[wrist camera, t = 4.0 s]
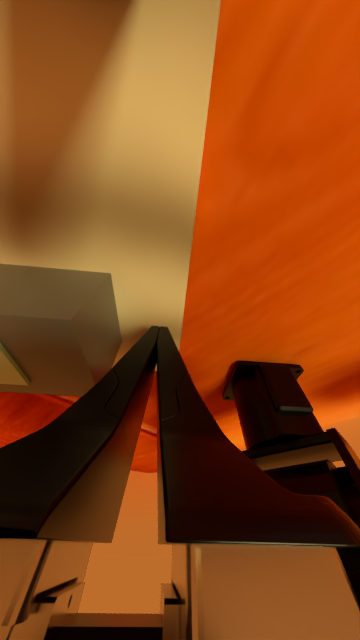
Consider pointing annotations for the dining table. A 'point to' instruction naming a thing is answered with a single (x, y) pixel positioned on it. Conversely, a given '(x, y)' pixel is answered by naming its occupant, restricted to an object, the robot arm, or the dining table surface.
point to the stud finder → (56, 329)
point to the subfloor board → (106, 144)
